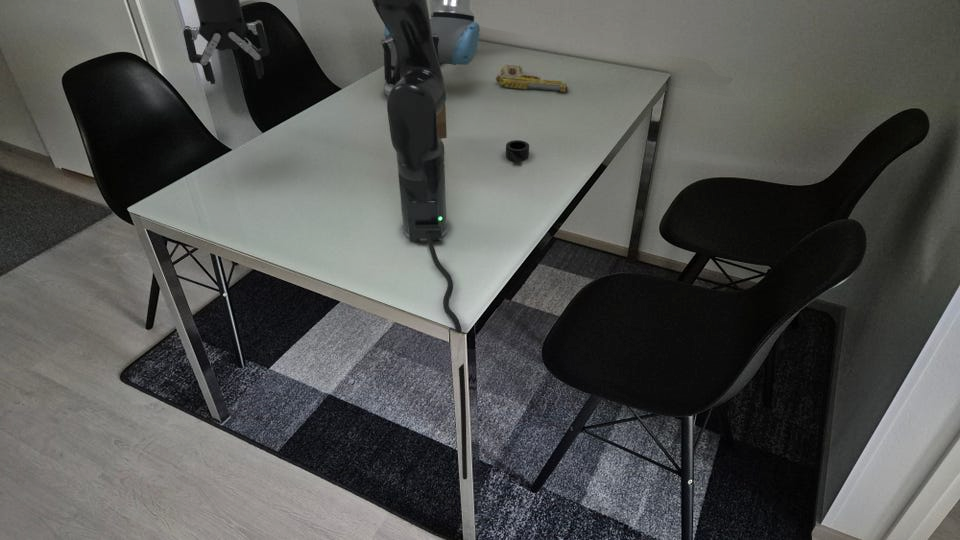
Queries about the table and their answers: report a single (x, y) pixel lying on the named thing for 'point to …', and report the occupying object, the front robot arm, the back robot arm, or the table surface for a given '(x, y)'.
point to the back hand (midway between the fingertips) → (414, 106)
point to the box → (441, 124)
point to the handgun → (527, 80)
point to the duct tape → (517, 150)
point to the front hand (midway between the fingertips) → (236, 80)
